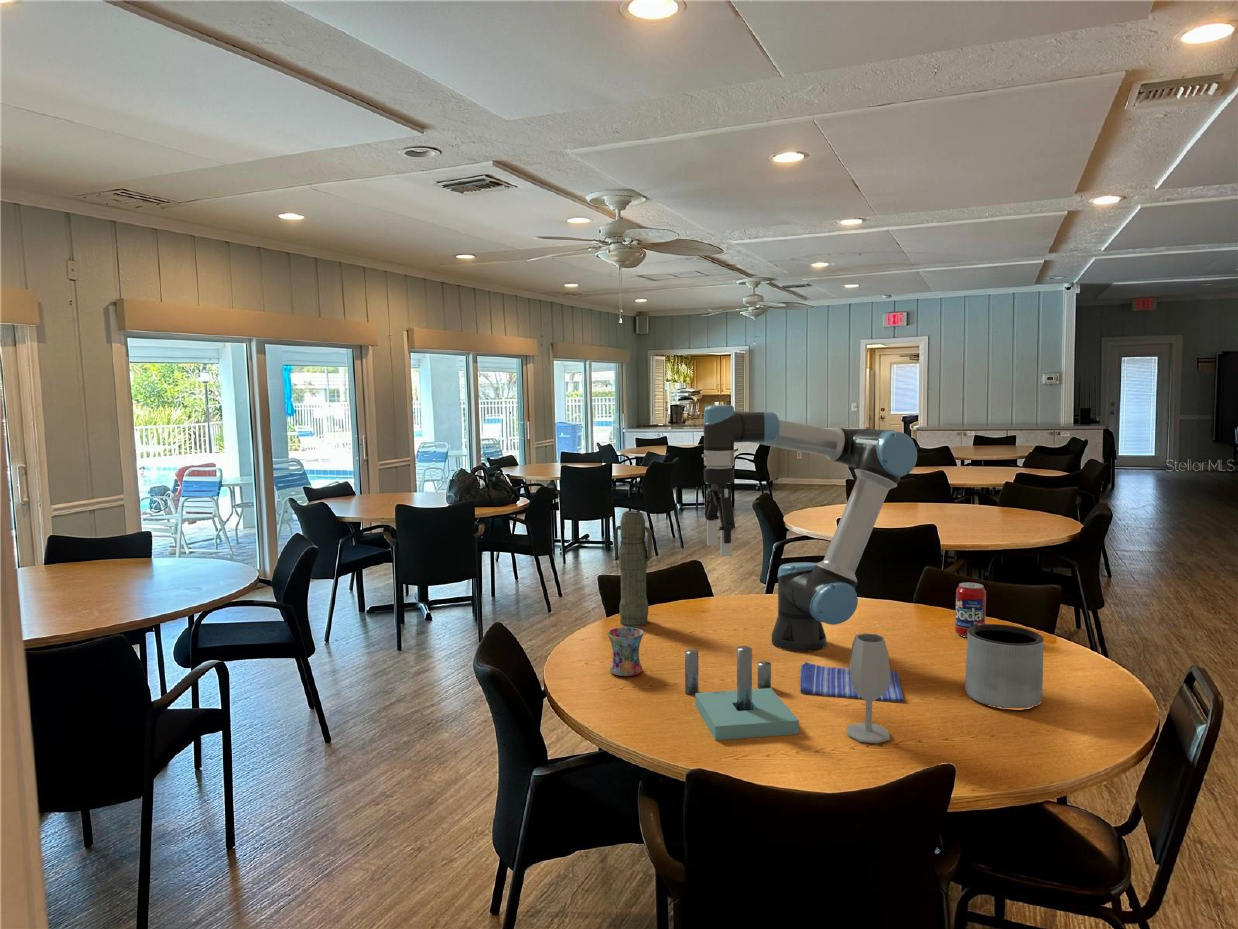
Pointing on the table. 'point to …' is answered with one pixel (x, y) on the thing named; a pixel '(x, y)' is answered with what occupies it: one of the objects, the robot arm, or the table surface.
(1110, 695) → the table surface
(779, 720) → the hole block
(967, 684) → the planter
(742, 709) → the long pin
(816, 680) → the dish towel
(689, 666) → the medium pin
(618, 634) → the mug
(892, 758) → the table surface
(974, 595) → the soda can
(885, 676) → the wineglass
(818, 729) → the table surface
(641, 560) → the thermos
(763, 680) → the short pin
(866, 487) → the robot arm
